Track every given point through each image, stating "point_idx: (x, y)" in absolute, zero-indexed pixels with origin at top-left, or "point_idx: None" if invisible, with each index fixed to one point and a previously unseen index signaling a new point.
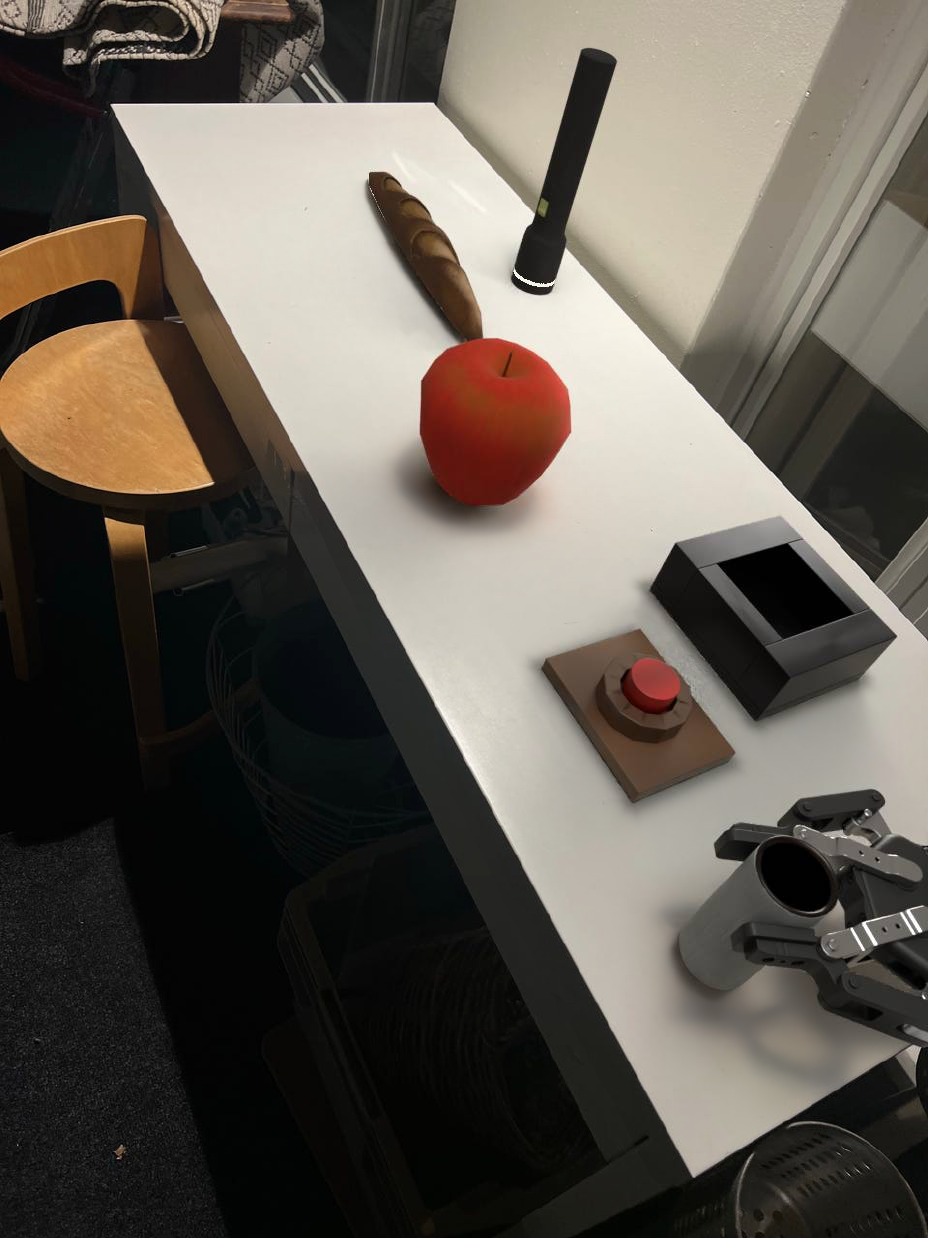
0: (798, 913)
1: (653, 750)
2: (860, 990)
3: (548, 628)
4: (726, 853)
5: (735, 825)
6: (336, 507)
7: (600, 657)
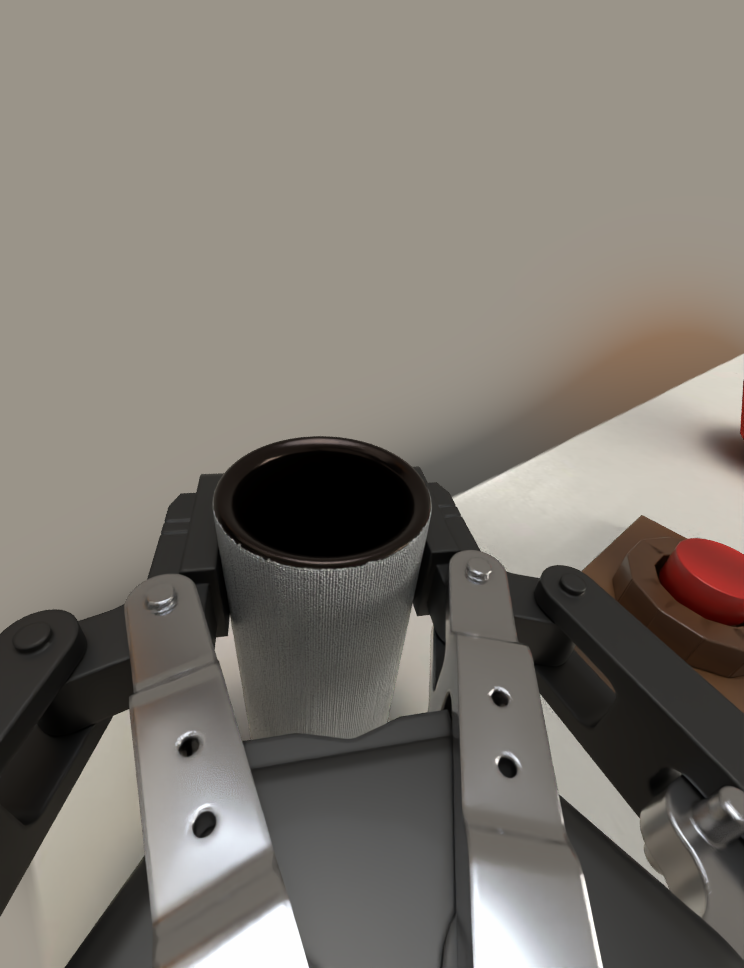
0: (222, 478)
1: None
2: (5, 660)
3: (695, 533)
4: None
5: (436, 485)
6: (638, 407)
7: None
